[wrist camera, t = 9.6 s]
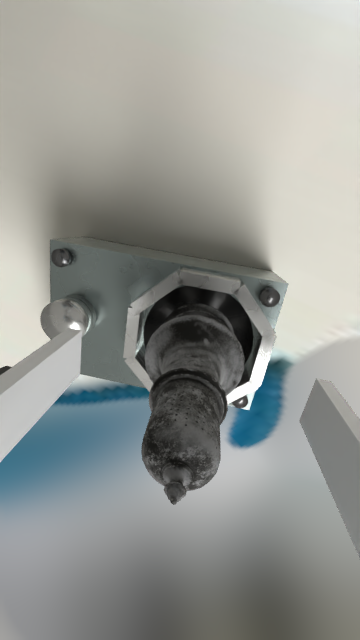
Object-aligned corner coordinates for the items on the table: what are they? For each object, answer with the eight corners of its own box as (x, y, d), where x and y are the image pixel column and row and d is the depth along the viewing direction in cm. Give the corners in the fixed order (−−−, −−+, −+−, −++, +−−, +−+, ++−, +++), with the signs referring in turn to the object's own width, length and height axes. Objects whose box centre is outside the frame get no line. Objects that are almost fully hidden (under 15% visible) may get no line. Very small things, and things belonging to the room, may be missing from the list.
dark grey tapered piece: (190, 388, 20) (163, 588, 9) (139, 331, 19) (37, 479, 8) (256, 346, 19) (321, 530, 7) (204, 281, 18) (187, 380, 6)
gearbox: (80, 342, 26) (35, 381, 20) (84, 236, 23) (31, 241, 16) (242, 376, 25) (252, 428, 19) (272, 271, 22) (297, 291, 15)
